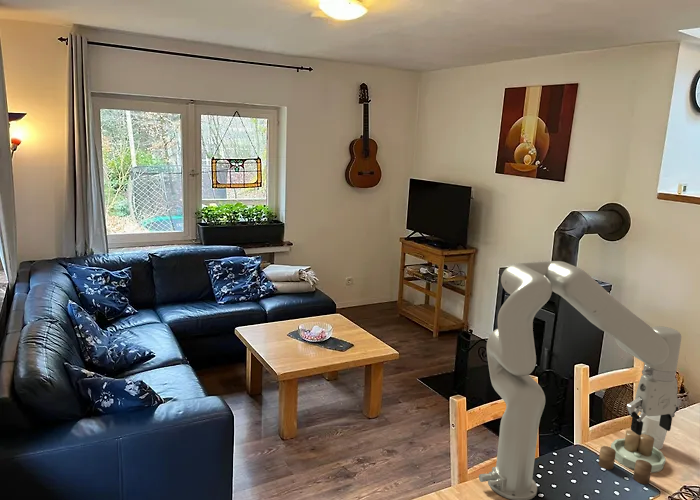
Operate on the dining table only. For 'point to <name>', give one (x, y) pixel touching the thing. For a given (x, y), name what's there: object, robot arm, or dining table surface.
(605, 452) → the bead
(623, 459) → the tray
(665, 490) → the dining table surface
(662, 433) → the white cup
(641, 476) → the bead
